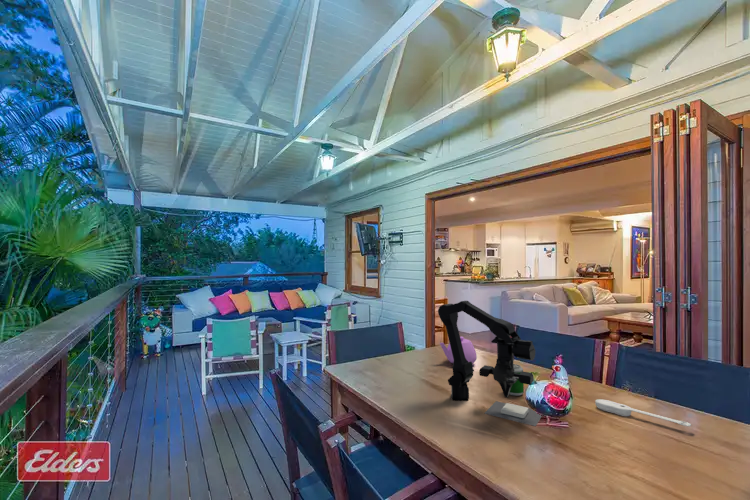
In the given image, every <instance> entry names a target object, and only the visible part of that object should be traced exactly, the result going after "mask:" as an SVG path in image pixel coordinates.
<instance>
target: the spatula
mask: <svg viewBox="0 0 750 500" xmlns="http://www.w3.org/2000/svg"><path fill="white" fill-rule="evenodd" d="M594 403H595V406H596V407H597V409H599V410H601V411H604V412H606V413H607V412H609V413H612V414H616V415H618V416H622V417H630V416H631V415H632V412H634V413H639V414H642V415H647V416H650V417H653V418H658V419H661V420H664V421H668V422H670V423H675V424H678V425H681V426H684V427H692V423H689V422H687V421H684V420H678V419H674V418H670V417H666V416H662V415H658V414H655V413H651V412H648V411H643V410H640V409H636V408H633V407H630V406H629V405H627V404H624V403H623V404H622V403H619V402H615V401H613V400H608V399H602V398H601V399H595V401H594Z"/></svg>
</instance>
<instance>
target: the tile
mask: <svg viewBox="0 0 750 500" xmlns="http://www.w3.org/2000/svg"><path fill="white" fill-rule="evenodd" d="M505 403H506V404H505V406H504V407H503V408H502V409H501V413H503V414H507V415H511V416H515V417H519V418H525V416H526V415H527V413H528V412H529V409H530V407H526V406H522V405H519V404H518V405H517V404H513V403H509V402H505Z"/></svg>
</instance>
